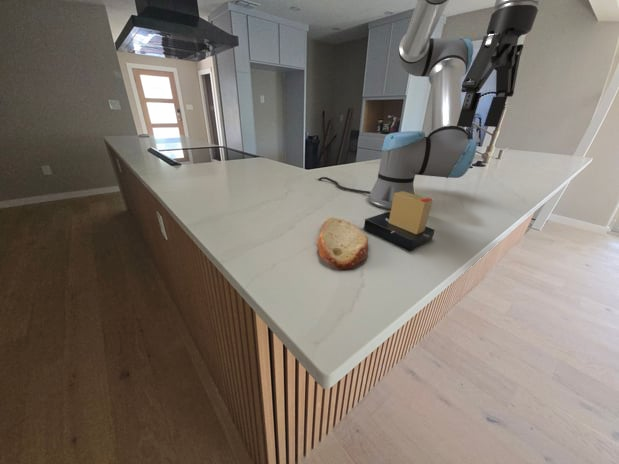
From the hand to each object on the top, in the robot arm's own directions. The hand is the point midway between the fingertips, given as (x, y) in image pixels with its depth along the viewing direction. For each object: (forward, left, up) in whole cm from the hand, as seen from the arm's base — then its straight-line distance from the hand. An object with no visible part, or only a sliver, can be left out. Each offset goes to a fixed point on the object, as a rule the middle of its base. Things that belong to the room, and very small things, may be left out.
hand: (477, 126), depth 59 cm
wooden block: (+2, -15, -23) cm, 28 cm away
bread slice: (+1, -33, -27) cm, 43 cm away
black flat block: (0, -16, -26) cm, 31 cm away
